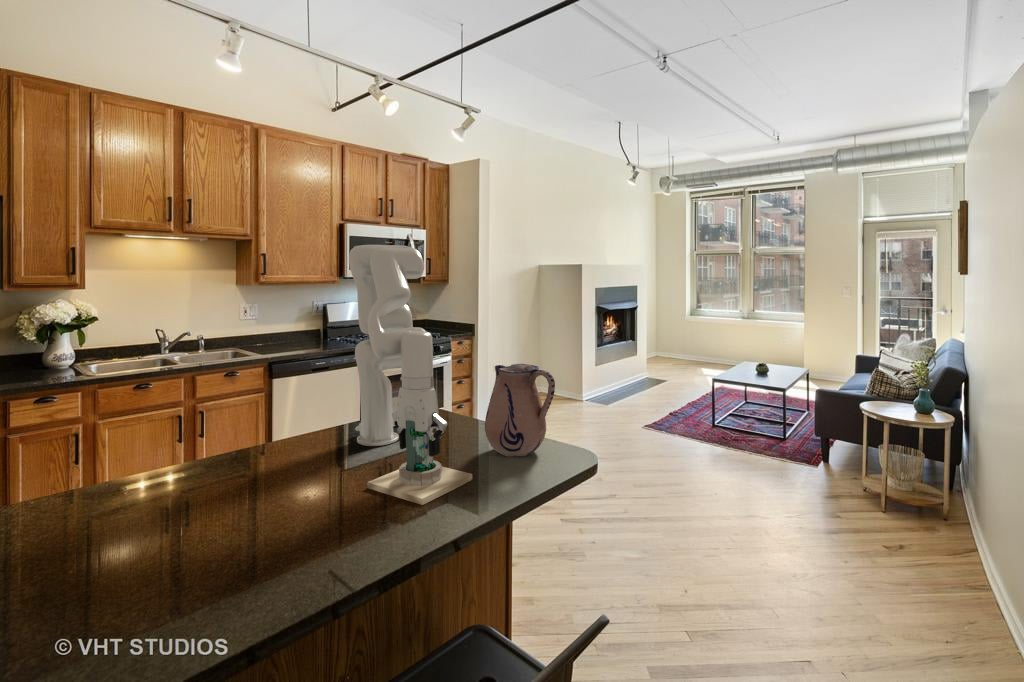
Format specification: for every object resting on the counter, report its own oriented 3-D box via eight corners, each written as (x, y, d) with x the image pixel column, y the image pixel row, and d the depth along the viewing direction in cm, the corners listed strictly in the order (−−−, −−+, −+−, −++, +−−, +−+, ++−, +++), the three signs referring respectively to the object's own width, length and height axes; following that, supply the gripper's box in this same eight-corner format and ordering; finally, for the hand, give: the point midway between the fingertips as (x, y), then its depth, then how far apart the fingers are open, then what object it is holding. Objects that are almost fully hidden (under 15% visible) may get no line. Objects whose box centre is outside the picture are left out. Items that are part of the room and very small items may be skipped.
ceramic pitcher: (499, 440, 171) (499, 360, 168) (565, 448, 163) (565, 364, 160) (474, 458, 155) (473, 369, 152) (546, 467, 147) (546, 374, 144)
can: (422, 484, 132) (420, 423, 130) (402, 479, 135) (400, 419, 133) (437, 475, 137) (436, 417, 135) (418, 471, 140) (416, 414, 138)
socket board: (367, 488, 134) (366, 470, 133) (419, 466, 149) (419, 450, 148) (422, 505, 124) (422, 485, 123) (472, 479, 139) (472, 462, 138)
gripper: (380, 381, 135) (383, 449, 137) (434, 389, 125) (435, 462, 128) (403, 376, 141) (405, 441, 143) (455, 384, 132) (456, 453, 134)
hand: (419, 451), depth 136 cm, fingers open, 9 cm apart
